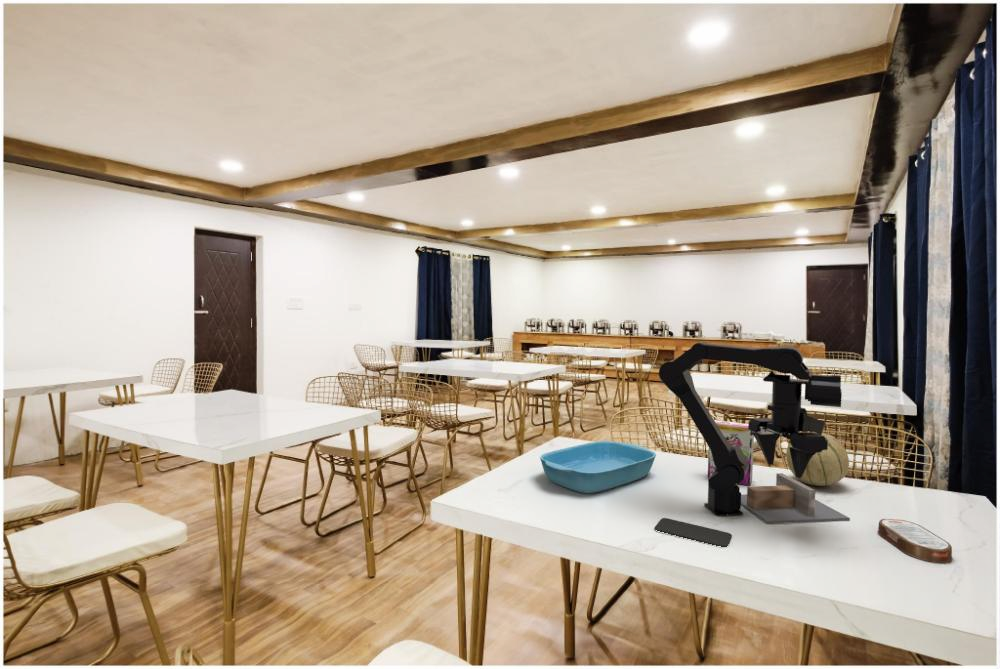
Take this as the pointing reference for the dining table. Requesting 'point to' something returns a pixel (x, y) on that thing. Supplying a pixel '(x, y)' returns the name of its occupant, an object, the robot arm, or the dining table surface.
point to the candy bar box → (734, 436)
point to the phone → (694, 532)
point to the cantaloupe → (824, 464)
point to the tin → (915, 540)
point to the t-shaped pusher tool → (782, 496)
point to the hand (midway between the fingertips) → (784, 470)
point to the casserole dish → (597, 465)
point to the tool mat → (795, 514)
